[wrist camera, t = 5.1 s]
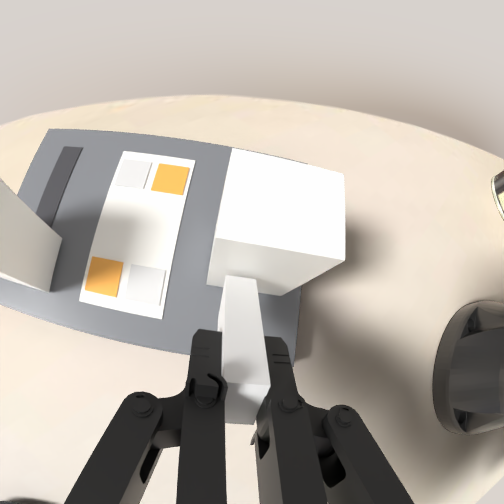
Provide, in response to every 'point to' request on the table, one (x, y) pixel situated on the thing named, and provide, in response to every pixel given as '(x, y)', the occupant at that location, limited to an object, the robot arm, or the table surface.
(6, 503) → the electronic game
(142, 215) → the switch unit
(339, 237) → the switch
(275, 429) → the robot arm
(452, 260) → the table surface
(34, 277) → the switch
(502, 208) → the coffee can
